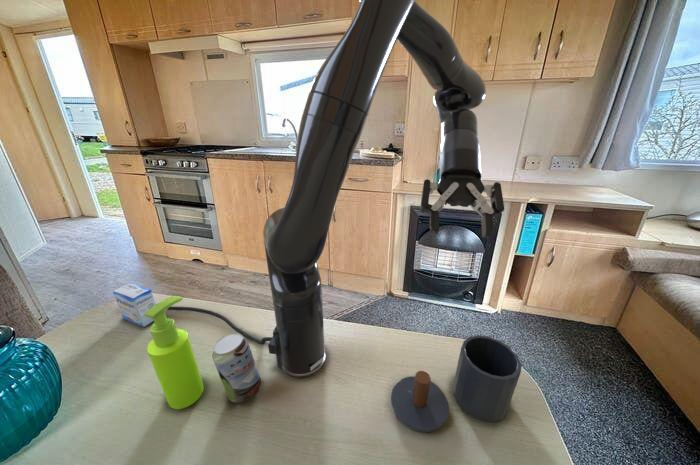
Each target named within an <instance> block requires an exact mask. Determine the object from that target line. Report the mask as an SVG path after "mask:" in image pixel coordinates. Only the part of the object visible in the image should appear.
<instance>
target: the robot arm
mask: <svg viewBox="0 0 700 465" xmlns="http://www.w3.org/2000/svg"><path fill="white" fill-rule="evenodd" d="M359 2H360V3H359V6H358V8H357V10H356V13H355V15H354V17H353V19H352V21H351V23H350V25H349V26H348V28H347V29H346V31H345V33H343V36H342V37H340V39H339V41H338V42H337V44H336V45H335V46H334V47H333V49H332V50H331V51H330V53H329V54H328V56H327V57H326V58H325V60H324V62H323V63H322V65H321V66H320V68H319V69H318V71H317V72H316V75H315V77H314V79H313V81H312V83H311V86H310V89H309V92H308V95H307V98H306V102H305V105H304V109H303V111H302V115H301V118H300V123H299V128H298V134H297V141H296V150H295V159H294V160H295V162H294V172H293V179H292V185H291V187H290V190H289V195H288V197H287V200H286V203H285V205H284V207H280V208H279V209H277V210H274V211H273V212H272V213H271V214H270V215H269V216H268V217H267V219H266V220H265V223H264V226H263V231H262V233H263V234H262V235H263V243H264V244H263V245H264V250H265V251H264V252H265V259H266V265H267V272H268V279H269V284H270V290H271V297H272V303H273V311H274V319H275V327H274V329H273V330H272V336H264V337H262V338H261V339H259V338H256V337H255V336H252V335H250V334H249V333H247V332H245V331H244V330H242V329H241V328H239V327H237V326H236V325H235V324H234V323H233V322H232V321H231V320H230V319H228V317H226V316H224V315H222V314H220V313H218V312H216V311H213V310H209V309H206V308H205V309H204V308H198V307H193V306H171V307H169V308H168V309H167V310H168V311H191V312H197V313H202V314H203V313H204V314H208V315H211V316H213V317H216V318H218V319H220V320H222V321H224V322H225V323H226V324H227V325H228V326H229V327H230V328H231V329H233V331H235V332H236V333H238V334H241V335H242V337H244V338H246V339H247V340H249V341H253V342H255V343H257V344H260V345H265V344H266V342H268V343H267V346H268V353H269V354H271V355H275V357H276V362H277V363H276V366H277V368H280V369H281V370H283V372H284V373H285V374H286V375H288V376H289V377H292V378H298V379H299V378H307V377H310V376H313V375H314V374H316V373H318V372H319V371H320V370H321V369H322V368H323V366H324V364H325V362H326V347H325V329H324V327H325V326H324V308H323V289H322V288H323V287H322V277H321V274H320V269H319V266H318V261H319V259H321V256H322V254H323V252H324V248H325V246H326V243H327V238H328V233H329V230H330V225H331V221H332V217H333V213H334V209H335V206H336V203H337V201H338V200H337V199H338V196H339V194H340V191H341V188H342V186H343V183H344V182H345V178H346V176H347V174H348V170H349V167H350V164H351V162H352V159H353V157H354V154H355V151H356V148H357V146H358V145H359V142H360V139H361V136H362V133H363V130H364V128H365V126H366V122H367V119H368V117H369V114H370V111H371V108H372V104H373V102H374V98H375V96H376V94H377V90H378V89H379V86H380V82H381V80H382V77H383V76H384V72H385V69H386V67H387V65H388V62H389V60H390V56H391V55H392V52H393V49H394V47H395V45H396V43H397V42H398V43H399V44H400V45H401V46H402V47H403V48H404V49H405V51H406V52H407V53H408V54H409V56H410V57H411V58H412V60H413V61H414V63H415V64H416V66H417V68H418V69H419V70H420V72H421V73H422V75H423V77H424V78H425V80H426V82H427V83H428V84H429V86H430V87H431V88H432V89H433V90H434V91H435V92H434V94H433V97H432V102H433V107H434V109H435V112H436V114H437V116H438V120H439V124H440V146H439V156H438V161H439V176H438V177H439V178H438V179H439V181H438V182H431V180H430V179H428V178H427V179H424V180H423V183H422V184H423V185H422V189H421V198H420V199H421V200H420V206H419V207H420V208H419V211H420V213H422V214H424V213H426V214H428V215H429V230H430V231H431V232H432V233H433V235H438V234H439V232H440V212H441V211H442V210H443V209H444V208H445V206H447V205H449V206H450V207H463V208H468V207H469V206H470V208H471V209H472V210H473V211H474V212H477V213H478V214H479V216H480V217H481V223H480V224H481V237H482V238H483V239H488V238H489V236H491V234H493V232H494V218H498V217H499V216H501V214H502V213H503V212H504V211H505V203H504V202H505V201H504V196H503V191H502V190H503V189H502V185H501V183H500V182H498V181H496V182H494V183H493V184H484V182H483V181H482V180H483V179H482V163H481V159H482V158H481V145H480V141H479V131H478V130H479V129H478V118H477V114H476V113H475V112H474V111H472V110H473V109H476V108H477V107H479V106H480V105H481V104H482V103H483V101H484V100H485V98H486V94H487V93H486V92H487V90H486V84H485V81H484V79H483V78H482V77H481V75H480V74H479V73H478V72H477V71H476V70H475V69H474V68H472V67H471V66H470V65H469V64H468V63H467V62H466V61H465V60H464V59H463V57H462V55H461V53H460V51H459V48H458V47H457V44H456V41H455V40H454V38H453V36H452V35H451V33H450V31H449V30H448V29H447V28H446V27H445V26H444V25H443V24H442V23H441V22H439V20H438V19H436V18H435V17H434V16H433V15H431V14H430V13H429V12H428V11H427V10H426V9H425V8H423V7H422V6H421V5H420V4H419V3H418V2H417V1H416V0H359ZM434 191H437V193H438V194H439V195H440V196H439V197H438V199H437V200H436V201H435V202H434V203H433V204H430V203H429V202H430V195H432V194H434ZM483 193H485V194H486V196H487V197H488V198H489V200H490V204H489V203H488V202H487V199H486V198H485V196H484V195H482V194H483ZM167 310H166V311H167Z"/></svg>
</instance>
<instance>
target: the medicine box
mask: <svg viewBox="0 0 700 465" xmlns="http://www.w3.org/2000/svg"><path fill="white" fill-rule="evenodd" d="M112 294H113V296H114V299H115V302H116V304H117V307H118V310H119V312H120V315H121V317H122V319H123V320H124V321H127V322H130V323H132V324H135V325H137V326H140V327H142V328H144V327H146V326H148V325H149V324H151V323H154V320H153V319H152V318H149V317H146V316H145V314H144V313H146V312H147V311H148V310H150V309H151V308H152V307H154V306H155V305H156V304H157V303H156V299H155V297H154V294H153V291H152V289H150V288H147V287H144V286H141V285H138V284H135V283H132V282H129V283H127V284H125V285H122V286H120V287H117V289H115V290H113V291H112Z"/></svg>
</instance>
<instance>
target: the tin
mask: <svg viewBox="0 0 700 465" xmlns="http://www.w3.org/2000/svg"><path fill="white" fill-rule="evenodd" d="M460 347H461V348H460V352H459V357H458V360H457V366H456V370H455V375H454V379H453V384H452V394H453V397H454V400H455V402H456V403H457V405H458V406H459V407H460V409H462V410H463V411H464V412H465V413H466V414H467V415H468V416H470V417H471V418H474V419H475V420H478V421H481V422H486V423H495V422H496V423H497V422H499V421H501V420H503V419H504V417H505V416H506V415H507V413H508V410H509V407H510V404H511V402H512V398H513V395H514V394H515V390H516V387H517V384H518V381H519V380H520V379H519V378H520V376H521V373H522V365H523V364H522V361H521V360H520V358H519V356H518V354H517V353H516V351H514V350H513V349H512V348H511V347H510V346H509V345H507V344H505V343H504V342H502V341H501V340H499V339H497V338H494V337H490V336H486V335H479V334H478V335H472V336H469V337H467V338H465V339H464V340H463V341H462V344H461V346H460Z"/></svg>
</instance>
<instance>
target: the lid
mask: <svg viewBox="0 0 700 465" xmlns="http://www.w3.org/2000/svg"><path fill="white" fill-rule="evenodd" d="M390 395H391V396H390V402H391V408H392V410H393V412H394V414H395V415H396V417H397V418H398V420H399V421H400V422H401V423H402V424H404V425H405V426H406V427H407V428H409V429H411V430H413V431H417V432H422V433H430V432H431V433H433V432H434V431H438V429H441V428H442V427H443V426H444V425H445V423H446V422H447V419H448V416H449V412H450V410H449V402H448V399H447V397H446V395H445V393H444V392H443V390H442V389H441V388H440V387H439V386H438V385H437V384H435V382H433V381H432V378H431V375H430V374H429V373H428V372H427V371H426V370H418V371H416V372H415V374H414V376H413V375H412V376H407V377H403V378H401V379H399V380H398V381H397V382H396V383H395V384H394V386H393V388H392V391H391V394H390Z"/></svg>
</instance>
